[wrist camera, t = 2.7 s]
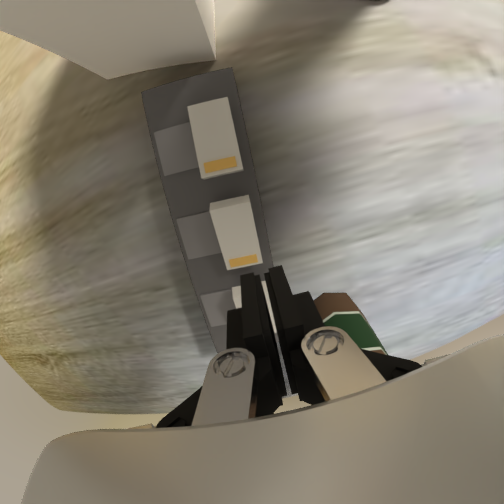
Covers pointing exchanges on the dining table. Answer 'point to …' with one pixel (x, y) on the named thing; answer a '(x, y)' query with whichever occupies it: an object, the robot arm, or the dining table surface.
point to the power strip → (203, 190)
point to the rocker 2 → (237, 297)
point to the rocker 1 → (215, 138)
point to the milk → (116, 31)
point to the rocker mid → (236, 232)
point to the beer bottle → (348, 320)
